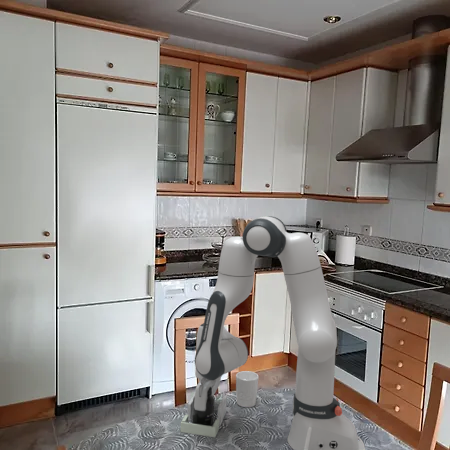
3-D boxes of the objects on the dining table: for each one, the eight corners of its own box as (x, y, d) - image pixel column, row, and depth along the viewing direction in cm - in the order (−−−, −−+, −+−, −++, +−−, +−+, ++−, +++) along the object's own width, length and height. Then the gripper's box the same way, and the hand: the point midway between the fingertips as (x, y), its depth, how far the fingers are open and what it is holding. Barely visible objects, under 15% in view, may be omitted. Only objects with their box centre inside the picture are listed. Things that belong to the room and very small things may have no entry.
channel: (225, 412, 146) (226, 396, 145) (220, 425, 138) (220, 408, 137) (194, 407, 148) (195, 392, 148) (187, 420, 140) (187, 404, 140)
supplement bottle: (212, 431, 134) (213, 394, 133) (190, 429, 135) (191, 392, 134) (215, 419, 141) (216, 384, 140) (194, 417, 142) (195, 382, 140)
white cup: (254, 410, 148) (255, 381, 147) (232, 406, 150) (233, 378, 150) (259, 399, 156) (260, 372, 155) (238, 396, 158) (239, 369, 157)
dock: (218, 428, 136) (219, 419, 135) (215, 437, 131) (215, 427, 131) (185, 423, 138) (185, 414, 138) (180, 431, 133) (180, 422, 133)
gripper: (209, 385, 131) (208, 428, 132) (225, 359, 151) (223, 398, 152) (190, 382, 133) (188, 425, 134) (207, 357, 153) (206, 395, 154)
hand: (207, 410), depth 143 cm, fingers closed
